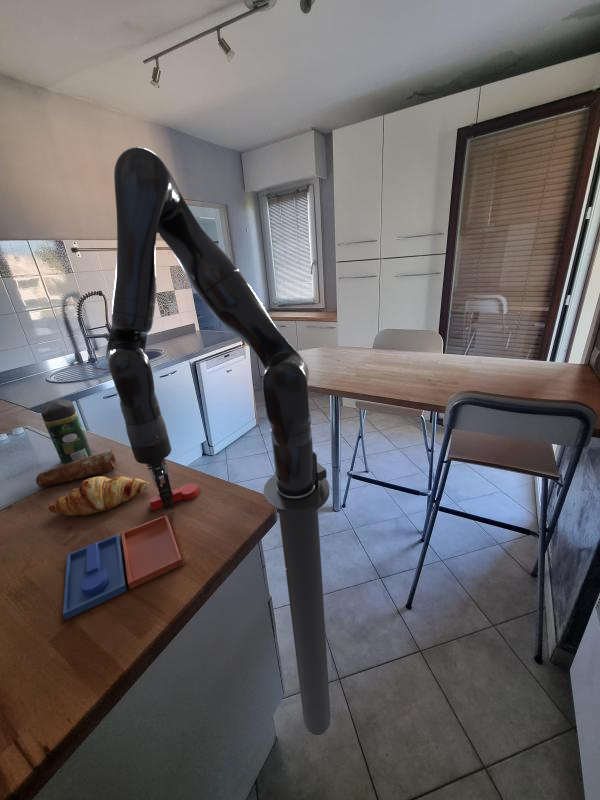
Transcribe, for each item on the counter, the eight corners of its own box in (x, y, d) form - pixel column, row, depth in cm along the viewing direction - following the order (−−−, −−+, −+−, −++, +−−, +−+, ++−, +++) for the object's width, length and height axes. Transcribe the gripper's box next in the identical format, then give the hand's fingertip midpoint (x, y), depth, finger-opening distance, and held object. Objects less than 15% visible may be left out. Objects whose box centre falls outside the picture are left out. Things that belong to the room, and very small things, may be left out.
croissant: (153, 494, 87) (147, 463, 87) (149, 499, 77) (143, 465, 78) (58, 519, 79) (52, 486, 80) (41, 529, 70) (34, 492, 70)
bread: (118, 472, 91) (112, 455, 89) (36, 493, 85) (28, 475, 83) (120, 461, 96) (115, 444, 94) (43, 479, 90) (36, 462, 88)
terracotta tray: (168, 519, 73) (166, 514, 72) (182, 564, 62) (181, 558, 61) (123, 537, 69) (121, 532, 68) (130, 589, 57) (127, 583, 57)
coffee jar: (60, 457, 101) (36, 401, 93) (89, 448, 105) (69, 393, 98) (63, 471, 93) (38, 412, 86) (95, 460, 98) (73, 402, 90)
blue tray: (120, 538, 68) (118, 533, 68) (127, 590, 57) (124, 585, 57) (69, 559, 64) (66, 554, 64) (65, 619, 53) (62, 614, 53)
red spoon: (153, 513, 75) (150, 505, 74) (150, 503, 78) (148, 496, 77) (200, 495, 80) (198, 487, 79) (195, 486, 83) (194, 479, 82)
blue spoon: (83, 557, 64) (79, 548, 63) (106, 547, 66) (103, 539, 65) (82, 600, 56) (78, 591, 55) (109, 588, 57) (105, 579, 57)
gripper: (126, 428, 75) (145, 489, 82) (133, 457, 64) (154, 524, 70) (161, 419, 79) (176, 478, 85) (173, 444, 67) (190, 510, 74)
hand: (166, 498), depth 78 cm, fingers open, 6 cm apart
